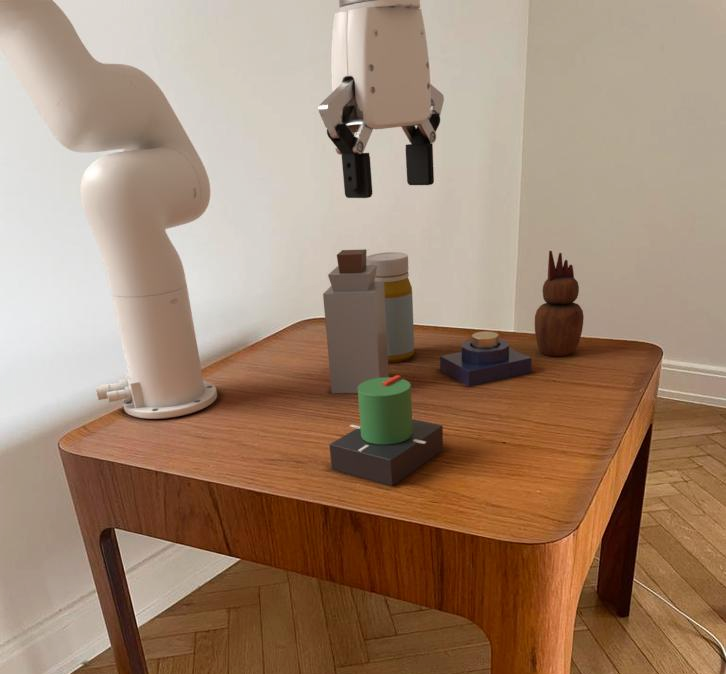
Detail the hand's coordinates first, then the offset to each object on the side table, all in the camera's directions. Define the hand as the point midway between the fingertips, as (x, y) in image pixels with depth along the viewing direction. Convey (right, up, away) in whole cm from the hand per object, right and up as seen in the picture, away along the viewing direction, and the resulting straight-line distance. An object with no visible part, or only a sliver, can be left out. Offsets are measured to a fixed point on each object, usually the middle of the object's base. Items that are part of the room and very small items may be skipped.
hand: (390, 190), depth 77 cm
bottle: (+2, -11, +38) cm, 40 cm away
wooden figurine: (+26, -11, +34) cm, 44 cm away
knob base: (0, -27, +5) cm, 28 cm away
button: (+14, -11, +27) cm, 33 cm away
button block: (+14, -14, +29) cm, 35 cm away
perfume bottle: (-3, -16, +28) cm, 32 cm away
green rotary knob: (0, -25, +4) cm, 25 cm away
